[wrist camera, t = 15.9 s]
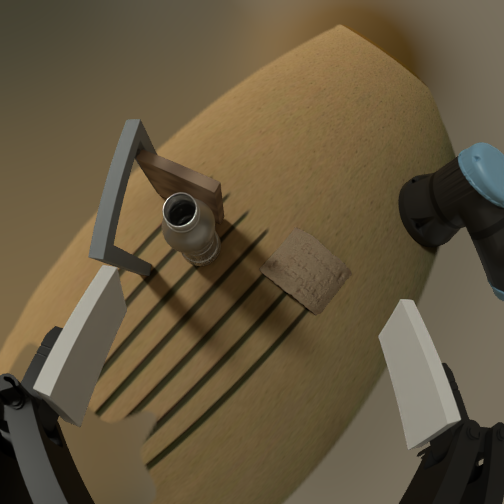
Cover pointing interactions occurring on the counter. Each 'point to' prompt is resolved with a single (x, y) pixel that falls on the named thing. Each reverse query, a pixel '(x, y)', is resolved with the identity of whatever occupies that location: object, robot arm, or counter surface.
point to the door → (181, 181)
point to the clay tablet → (306, 270)
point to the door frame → (119, 201)
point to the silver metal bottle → (190, 229)
